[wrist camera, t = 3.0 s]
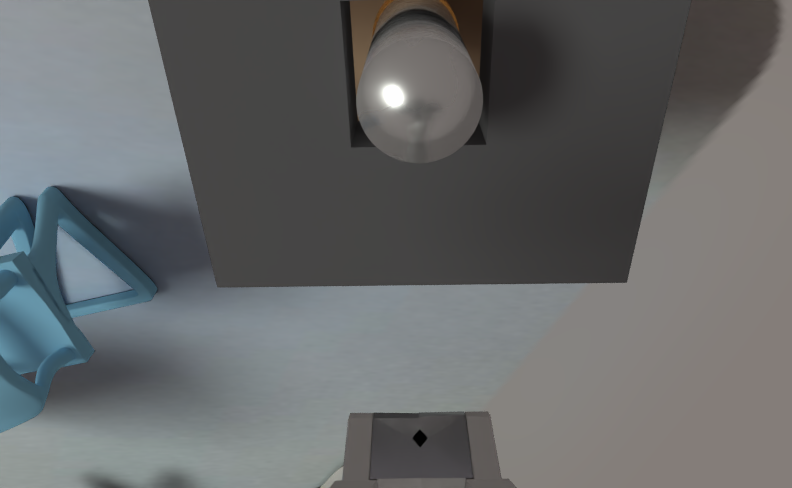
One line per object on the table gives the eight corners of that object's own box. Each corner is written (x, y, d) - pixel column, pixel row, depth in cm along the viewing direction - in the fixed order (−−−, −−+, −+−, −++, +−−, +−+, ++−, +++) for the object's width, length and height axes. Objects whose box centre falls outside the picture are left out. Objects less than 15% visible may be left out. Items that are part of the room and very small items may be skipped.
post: (449, 52, 25) (483, 165, 14) (380, 53, 25) (356, 168, 14) (450, -25, 24) (491, 30, 12) (377, -23, 24) (347, 34, 12)
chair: (91, 175, 31) (-71, 306, 20) (160, 292, 35) (55, 450, 24) (-27, 205, 32) (-236, 344, 21) (54, 315, 36) (-89, 475, 26)
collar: (603, 244, 21) (626, 282, 18) (236, 249, 21) (217, 287, 19) (699, -244, 13) (754, -275, 11) (138, -221, 14) (88, -246, 12)
